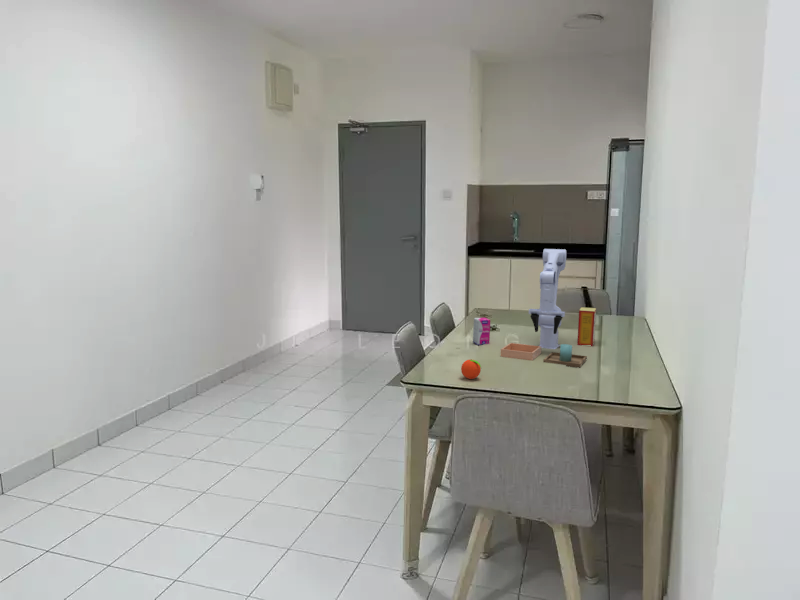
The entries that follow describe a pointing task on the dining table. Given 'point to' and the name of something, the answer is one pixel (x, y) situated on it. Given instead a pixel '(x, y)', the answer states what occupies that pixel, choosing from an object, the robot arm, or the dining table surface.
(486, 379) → the dining table surface
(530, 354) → the pink storage bin
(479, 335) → the supplement box
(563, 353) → the teal cylinder
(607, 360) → the dining table surface
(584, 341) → the baking soda box
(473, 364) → the clementine
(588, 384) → the dining table surface
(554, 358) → the tray
